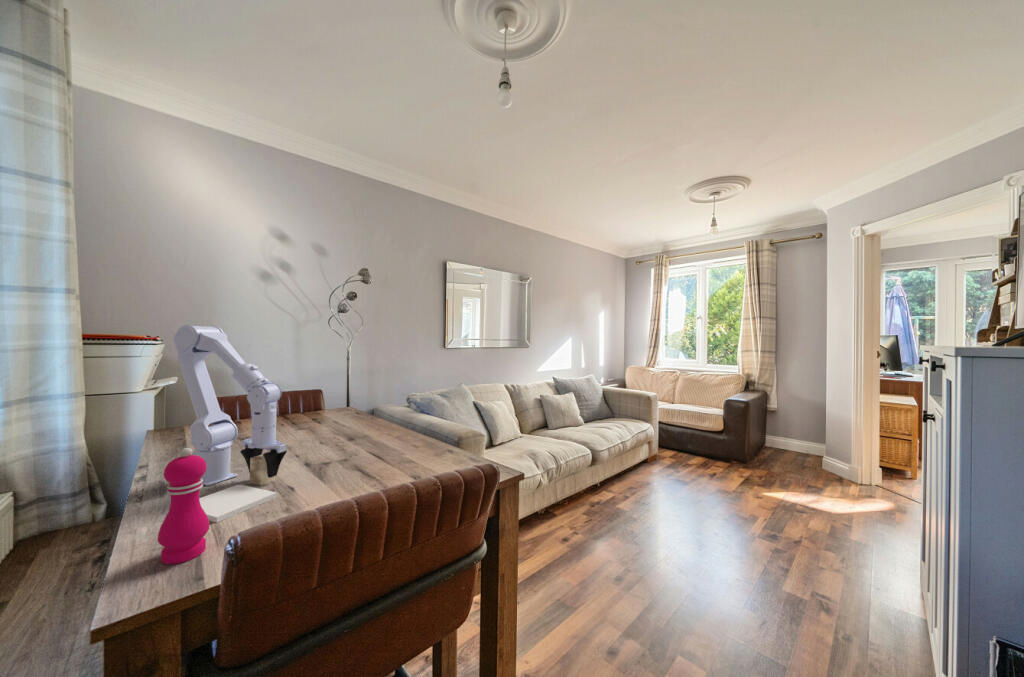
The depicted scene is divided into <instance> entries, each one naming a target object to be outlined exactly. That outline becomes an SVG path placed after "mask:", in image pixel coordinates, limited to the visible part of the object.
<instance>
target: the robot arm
mask: <svg viewBox="0 0 1024 677" xmlns="http://www.w3.org/2000/svg"><path fill="white" fill-rule="evenodd" d="M172 338H173V342H174V344H175V348H176V351H177V362H178V366H179V367H180V368H179V369H180V370H181V374H182V377H183V380H184V383H185V385H186V390H187V392H188V395H189V396H188V397H189V398H190V401H191V405H192V407H193V410H194V413H195V416H196V419H195V420H194V421H193V423H192V424H191V425H190V427H189V430H190V444H191V446H192V447H193V448H194V449H195V450H194V451H192V454H191V455H196V456H200V457H202V458H203V459H204V460H205V462H206V466H207V468H206V472H205V473H204V475H203V476H202V477H201V479H203V482H202V484H203V486H211V485H214V484H217V483H220V482H223V481H226V480H230V479H232V478H237V477H238V473H233V472H231V461H232V459H231V456H232V455H231V452H232V451H231V450H232V448H231V447H232V446H231V445H233V442H234V441H235V439H237V437H238V433H239V431H238V430H239V429H238V426H237V425H236V424H235V423H234V421H233V420H232V418H231V415H229V414H227V413H225V412H223V411H222V409H221V407H220V404H219V400H218V398H217V395H216V392H215V388H214V386H213V383H212V380H211V377H210V373H209V372H208V369H207V365H206V362H205V360H206V359H207V358H208V356H210V355H211V354H212V353H214V354H215V355H216V357H218V358H219V359H220V360H221V361H222V362H223V363H224V364H225V365H226V366H228V368H230V369H231V370H232V375H231V376H232V378H233V379H234V380H235V381H236V382H237V384H238V385H239V386H240V387H241V388H242V389H243V390H244V392H246V393H247V395H246V400H247V402H248V404H250V410H251V412H252V413H251V438H246V439H243V440H242V444H241V445H242V447H243V449H241V450H240V454H241V455H242V457H243V458H244V460H245V463H246V465H247V469H248V473H249V474H250V458H252V457H256V456H259V455H263V456H264V458H265V461H266V464H267V475H268V477H269V478H271V477H274V476H276V477H277V475H278V472H279V469H280V465H281V463H282V460H283V458H284V457H285V455H286V454H287V453H288V452H287V451H288V450H287V448H286V447H287V444H286V443H283V442H281V441H279V440H277V412H278V411H277V410H278V409H277V406H278V405H277V404H278V401H279V400H280V399H281V398H282V394H283V393H282V389H281V387H280V385H279V384H278V383H276V382H274V381H273V382H271V381H270V380H269V378H266V377H265V375H264V374H263V373H262V372H261V371H260V370H259V367H258V366H257V365H254V364H252V363H246V362H245V361H244V359H243V358H242V357H241V355H240V354H239V353H238V352H237V351H236V350H235V348H234V347H233V345H232V344H231V343H230V341H228V335H227V333H225V332H224V331H223V328H221V327H219V326H216V325H215V326H213V325H211V326H203V325H189V324H184V325H182V326H180V327H179V328H178V329H177V330H176V333H175V334H174V336H173V337H172ZM263 450H266V451H268V452H265V453H263Z"/></svg>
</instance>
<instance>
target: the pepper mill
mask: <svg viewBox="0 0 1024 677" xmlns="http://www.w3.org/2000/svg"><path fill="white" fill-rule="evenodd" d="M192 453H193V449H192V448H191V447H183V448H182V449H181V450H180V451H179V456H178V457H176V458H174V459H172V460H171V461H169V462H168V463H167V464H166V466H165V467H164V471H163V477H164V480H165V481H166V482H168V483H169V484H168V485H167V486H166V488H167V491H166V493H167V494H168V495H169V496H170V504H169V505H170V506H169V509H168V511H167V514H166V516H165V518H164V520H163V521H162V523H161V525H160V527H159V531H158V534H157V542H158V544H159V545H160V546H161V547H163V548H162V549H161V552H160V562H161V563H162V564H166V565H177V564H180V563H184V562H188V561H190V560H193V559H195V558H197V557H199V556H200V555H202V554H203V553H204V552H205V551H206V549H207V546H206V544H207V541H206V538H205V536H206V534H207V533H208V531H209V530H210V521H209V519H208V517H207V515H206V513H205V512H204V510H203V509H202V507H201V504H200V501H199V498H200V491H201V489H202V488H203V486H204V485H203V484H202V482H203V479H201V477H202V476H203V475H204V473H205V472H206V468H207V466H206V462H205V460H204V459H203V458H202V457H200V456H196V455H192Z"/></svg>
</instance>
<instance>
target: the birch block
mask: <svg viewBox="0 0 1024 677" xmlns="http://www.w3.org/2000/svg"><path fill="white" fill-rule="evenodd" d="M276 480H277V475H276V476H274V477H271V478H269V477H268V475H267V464H266V461H265V458H264V456H263V454H261V455H259V456H256V457H252V458H250V473H249V484H251V483H254V484H253V485H256V484H257V485H258V486H264V485H266V484H269V483H271V481H272V482H275V481H276ZM263 484H264V485H263ZM257 485H256V486H257Z"/></svg>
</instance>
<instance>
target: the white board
mask: <svg viewBox="0 0 1024 677" xmlns="http://www.w3.org/2000/svg"><path fill="white" fill-rule="evenodd" d="M277 495H278V493H277V492H276V491H272V490H268V489H262V488H257V487H252V486H249V485H243V484H236V485H233V486H231V487H228V488H224V489H222V490H220V491H216V492H212V493H210V494H208V495H205V496H202V497H199V501H200V504H201V507H202V509H203V510H204V512H205V513H206V515H207V517H208V519H209V522H212V523H220V522H223V521H224V520H226V519H227V520H228V519H229V518H232V517H234V516H236V515H238V514H241V513H243V512H245V511H247V510H250V509H252V508H255V507H257V506H259V505H261V504H264V503H266V502H268V501H271V500H275V499H277V497H278V496H277Z"/></svg>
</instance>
